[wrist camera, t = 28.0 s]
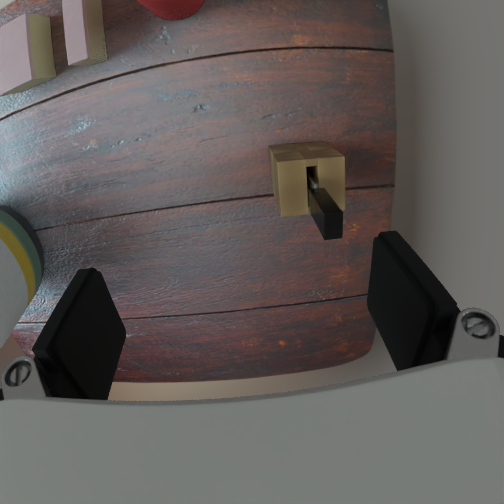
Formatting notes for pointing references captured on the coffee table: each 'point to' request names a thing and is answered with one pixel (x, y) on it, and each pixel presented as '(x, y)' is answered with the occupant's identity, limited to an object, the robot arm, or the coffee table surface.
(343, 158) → the knife block
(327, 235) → the knife
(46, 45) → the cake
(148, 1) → the beer can
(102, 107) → the coffee table surface
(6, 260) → the vase
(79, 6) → the cake slice
